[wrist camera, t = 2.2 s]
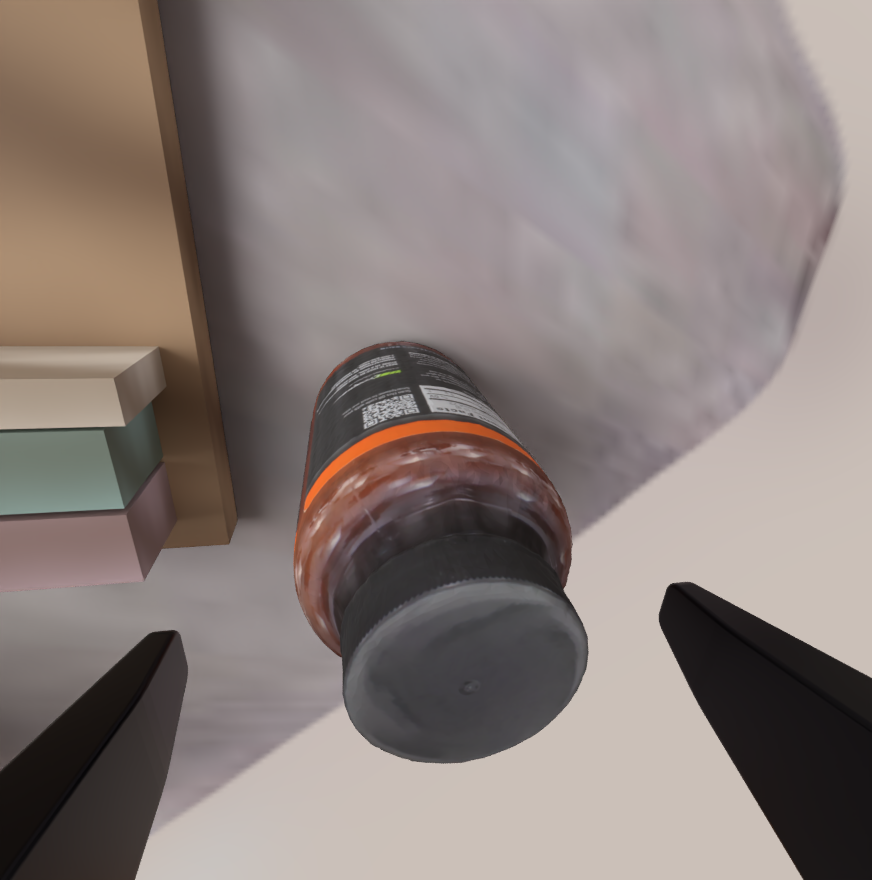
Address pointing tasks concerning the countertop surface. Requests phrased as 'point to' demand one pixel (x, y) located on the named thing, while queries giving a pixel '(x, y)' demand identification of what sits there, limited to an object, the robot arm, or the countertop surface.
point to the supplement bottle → (434, 561)
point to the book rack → (99, 306)
